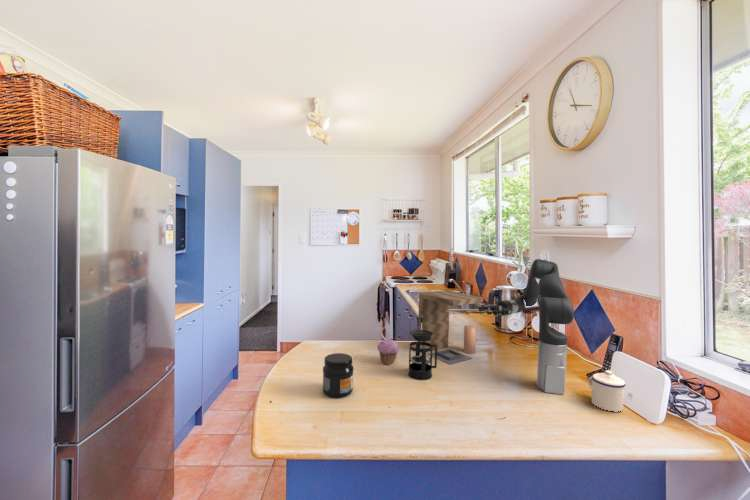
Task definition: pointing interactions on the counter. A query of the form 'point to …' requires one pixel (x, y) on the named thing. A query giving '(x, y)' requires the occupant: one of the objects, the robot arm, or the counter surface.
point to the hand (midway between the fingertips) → (486, 310)
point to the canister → (469, 339)
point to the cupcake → (387, 351)
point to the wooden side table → (440, 313)
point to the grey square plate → (450, 356)
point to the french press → (421, 362)
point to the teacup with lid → (607, 391)
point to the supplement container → (338, 375)
